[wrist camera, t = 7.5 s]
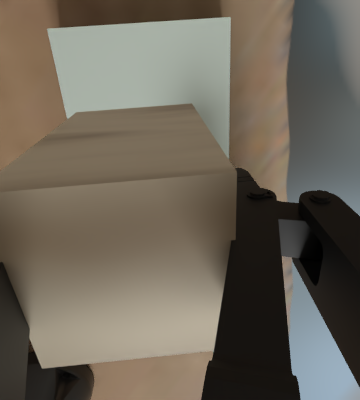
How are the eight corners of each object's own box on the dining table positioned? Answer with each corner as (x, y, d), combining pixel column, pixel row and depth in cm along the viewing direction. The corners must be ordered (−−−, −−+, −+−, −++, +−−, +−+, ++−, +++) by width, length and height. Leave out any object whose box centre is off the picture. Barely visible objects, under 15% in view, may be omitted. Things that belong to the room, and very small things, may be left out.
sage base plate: (221, 170, 37) (228, 183, 34) (91, 181, 37) (84, 195, 33) (221, 20, 30) (230, 16, 27) (60, 31, 30) (47, 28, 26)
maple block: (196, 204, 19) (232, 348, 10) (97, 213, 18) (41, 368, 9) (191, 103, 16) (237, 172, 7) (76, 112, 16) (-31, 194, 7)
